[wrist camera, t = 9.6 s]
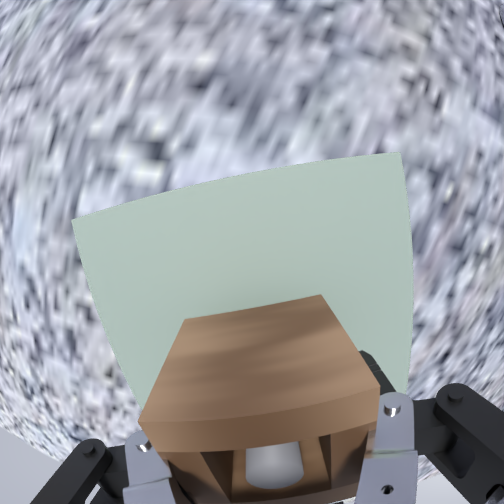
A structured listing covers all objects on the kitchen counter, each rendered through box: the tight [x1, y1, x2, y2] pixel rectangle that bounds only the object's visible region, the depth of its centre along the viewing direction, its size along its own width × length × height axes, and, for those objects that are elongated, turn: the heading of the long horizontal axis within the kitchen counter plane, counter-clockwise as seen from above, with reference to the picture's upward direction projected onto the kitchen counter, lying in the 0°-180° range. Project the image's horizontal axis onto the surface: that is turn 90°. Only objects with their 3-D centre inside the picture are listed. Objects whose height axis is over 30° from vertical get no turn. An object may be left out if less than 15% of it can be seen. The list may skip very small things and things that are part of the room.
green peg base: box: [71, 152, 413, 489], centre depth 10 cm, size 16×16×9 cm
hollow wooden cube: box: [138, 294, 380, 504], centre depth 9 cm, size 6×6×6 cm
